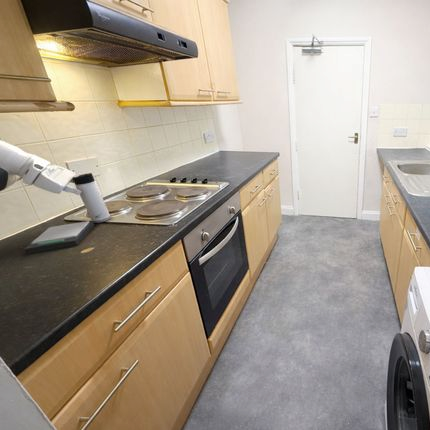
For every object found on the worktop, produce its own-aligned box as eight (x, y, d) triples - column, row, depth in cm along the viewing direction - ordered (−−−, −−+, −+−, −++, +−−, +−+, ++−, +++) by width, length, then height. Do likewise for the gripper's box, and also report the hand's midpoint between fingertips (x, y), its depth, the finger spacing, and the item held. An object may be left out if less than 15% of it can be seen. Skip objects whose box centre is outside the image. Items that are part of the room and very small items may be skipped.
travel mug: (102, 223, 108) (81, 176, 99) (88, 222, 109) (66, 176, 100) (115, 216, 113) (96, 171, 105) (102, 216, 115) (82, 171, 106)
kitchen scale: (27, 254, 89) (23, 247, 88) (51, 232, 102) (48, 226, 101) (77, 245, 93) (74, 238, 92) (94, 225, 107) (92, 219, 106)
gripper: (41, 170, 104) (83, 188, 112) (21, 184, 88) (72, 204, 96) (50, 157, 104) (92, 176, 112) (32, 169, 88) (82, 190, 96)
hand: (83, 189), depth 104 cm, fingers open, 8 cm apart
